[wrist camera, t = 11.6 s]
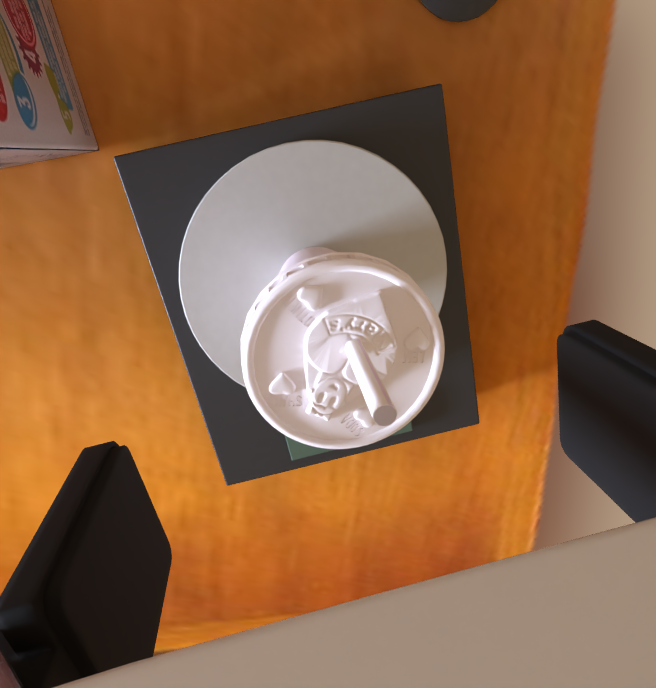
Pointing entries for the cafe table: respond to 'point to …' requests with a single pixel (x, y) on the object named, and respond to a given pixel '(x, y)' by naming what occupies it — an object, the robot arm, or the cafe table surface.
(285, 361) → the smoothie
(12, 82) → the juice carton
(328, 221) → the scale
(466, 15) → the sundae
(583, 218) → the cafe table surface
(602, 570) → the robot arm
